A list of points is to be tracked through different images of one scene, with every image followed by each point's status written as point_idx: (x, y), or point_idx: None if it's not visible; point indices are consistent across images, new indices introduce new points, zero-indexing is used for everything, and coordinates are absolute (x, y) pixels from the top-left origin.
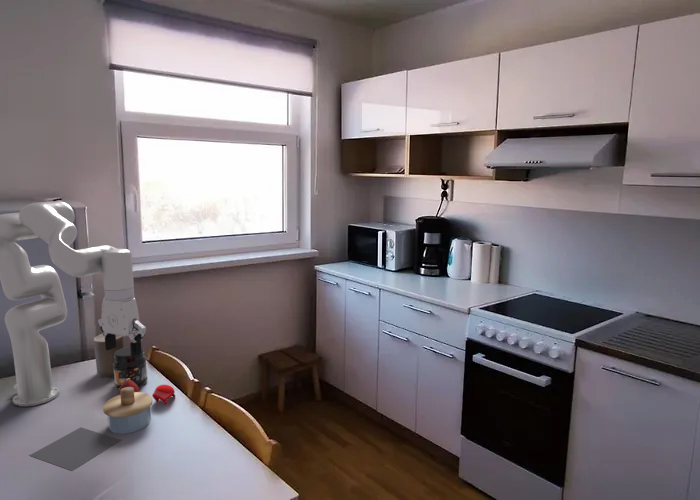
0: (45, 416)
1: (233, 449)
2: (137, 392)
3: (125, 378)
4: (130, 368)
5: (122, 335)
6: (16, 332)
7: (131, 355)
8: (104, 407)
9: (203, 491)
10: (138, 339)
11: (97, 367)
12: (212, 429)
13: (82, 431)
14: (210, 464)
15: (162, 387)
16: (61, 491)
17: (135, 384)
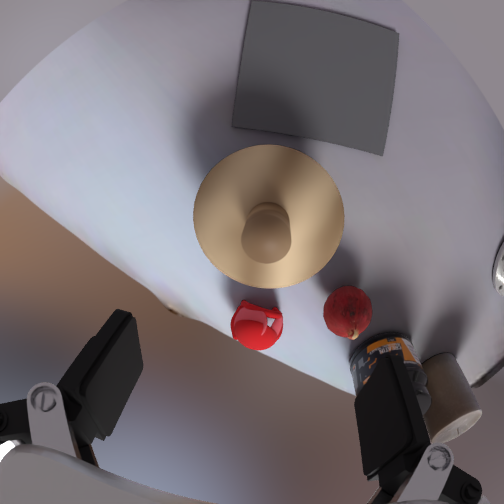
0: (480, 197)
1: (33, 190)
2: (284, 285)
3: (385, 352)
4: None
5: (65, 466)
6: None
7: (126, 312)
8: (323, 174)
9: (21, 85)
10: (15, 401)
11: (458, 366)
12: (89, 235)
13: (364, 138)
14: (36, 139)
15: (248, 332)
16: None
17: (333, 330)
